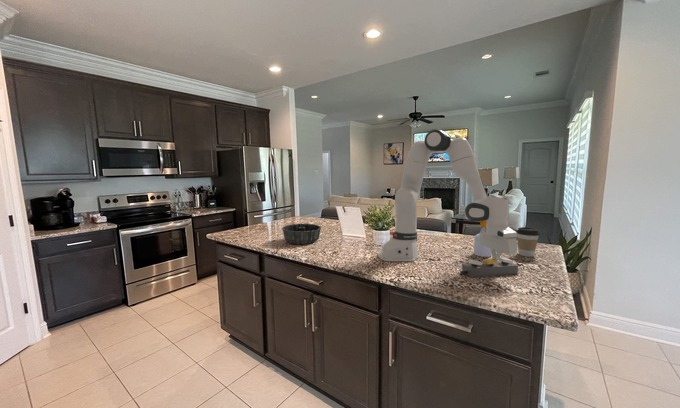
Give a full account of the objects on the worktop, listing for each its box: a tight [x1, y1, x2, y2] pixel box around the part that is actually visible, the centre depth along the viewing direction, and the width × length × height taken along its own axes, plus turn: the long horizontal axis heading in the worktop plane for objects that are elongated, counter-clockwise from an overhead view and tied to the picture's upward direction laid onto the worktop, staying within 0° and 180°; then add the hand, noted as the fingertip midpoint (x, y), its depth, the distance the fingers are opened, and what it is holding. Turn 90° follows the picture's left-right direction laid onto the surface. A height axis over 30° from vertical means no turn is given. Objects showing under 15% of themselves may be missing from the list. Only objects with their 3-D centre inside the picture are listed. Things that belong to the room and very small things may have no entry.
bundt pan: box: [281, 223, 322, 245], centre depth 194 cm, size 26×26×10 cm
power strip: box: [459, 260, 519, 278], centre depth 133 cm, size 27×7×5 cm, turn 101°
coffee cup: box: [515, 226, 541, 258], centre depth 161 cm, size 11×11×15 cm
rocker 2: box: [482, 257, 498, 264], centre depth 133 cm, size 5×3×1 cm, turn 101°
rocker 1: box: [467, 259, 483, 265], centre depth 132 cm, size 5×3×1 cm, turn 101°
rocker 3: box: [499, 257, 514, 263], centre depth 134 cm, size 5×3×1 cm, turn 101°
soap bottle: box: [473, 221, 492, 258], centre depth 160 cm, size 9×9×25 cm
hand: (496, 259), depth 133 cm, fingers closed, pressing on rocker 2
